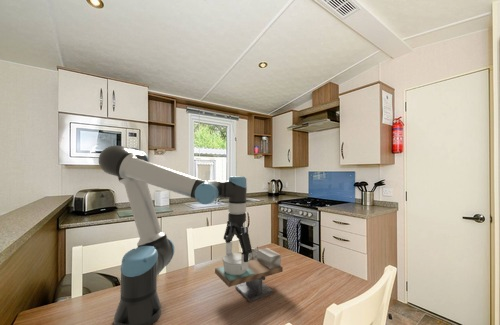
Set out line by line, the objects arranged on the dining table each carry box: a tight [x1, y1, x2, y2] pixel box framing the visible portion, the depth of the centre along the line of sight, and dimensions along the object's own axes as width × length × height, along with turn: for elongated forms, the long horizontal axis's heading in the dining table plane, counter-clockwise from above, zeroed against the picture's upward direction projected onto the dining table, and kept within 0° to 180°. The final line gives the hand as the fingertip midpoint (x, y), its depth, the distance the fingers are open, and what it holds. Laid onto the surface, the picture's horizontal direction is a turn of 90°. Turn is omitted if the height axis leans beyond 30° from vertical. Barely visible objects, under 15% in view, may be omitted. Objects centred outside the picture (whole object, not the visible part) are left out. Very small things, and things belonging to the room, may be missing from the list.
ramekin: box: [222, 252, 249, 276], centre depth 90 cm, size 11×11×5 cm
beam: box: [214, 247, 284, 288], centre depth 94 cm, size 27×15×8 cm, turn 123°
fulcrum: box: [235, 278, 274, 303], centre depth 95 cm, size 12×12×7 cm
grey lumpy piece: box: [248, 246, 259, 261], centre depth 126 cm, size 9×8×10 cm
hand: (236, 262), depth 91 cm, fingers open, 13 cm apart
